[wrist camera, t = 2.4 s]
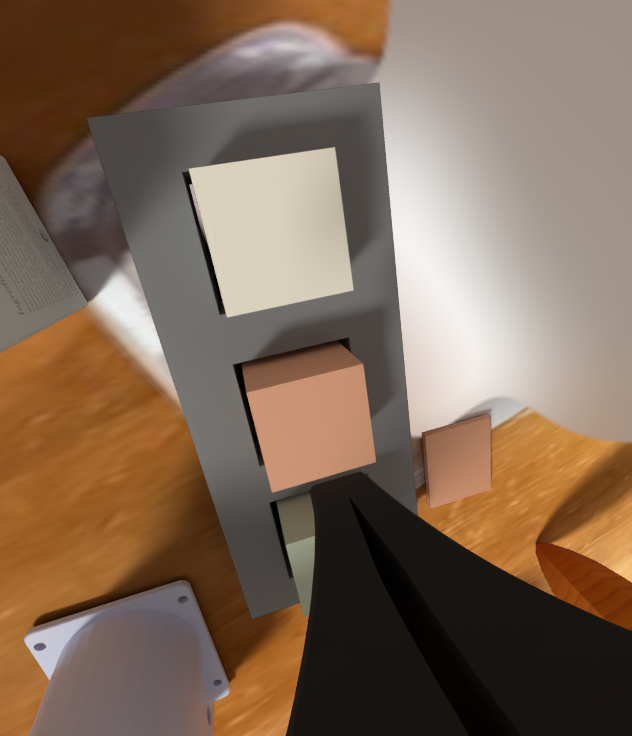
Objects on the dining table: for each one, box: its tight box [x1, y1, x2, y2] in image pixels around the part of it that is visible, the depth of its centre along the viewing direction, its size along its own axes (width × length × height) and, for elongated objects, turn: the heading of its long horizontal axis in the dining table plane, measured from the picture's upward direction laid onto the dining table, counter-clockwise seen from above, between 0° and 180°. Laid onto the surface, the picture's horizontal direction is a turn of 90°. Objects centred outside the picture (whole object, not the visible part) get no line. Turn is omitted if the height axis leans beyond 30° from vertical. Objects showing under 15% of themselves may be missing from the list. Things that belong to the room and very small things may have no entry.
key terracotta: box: [241, 340, 376, 493], centre depth 15 cm, size 4×4×4 cm
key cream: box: [189, 147, 354, 317], centre depth 13 cm, size 4×4×4 cm
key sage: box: [276, 491, 315, 617], centre depth 17 cm, size 4×4×4 cm
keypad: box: [87, 83, 418, 619], centre depth 17 cm, size 21×9×3 cm, turn 10°
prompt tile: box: [422, 414, 491, 509], centre depth 22 cm, size 5×4×1 cm
